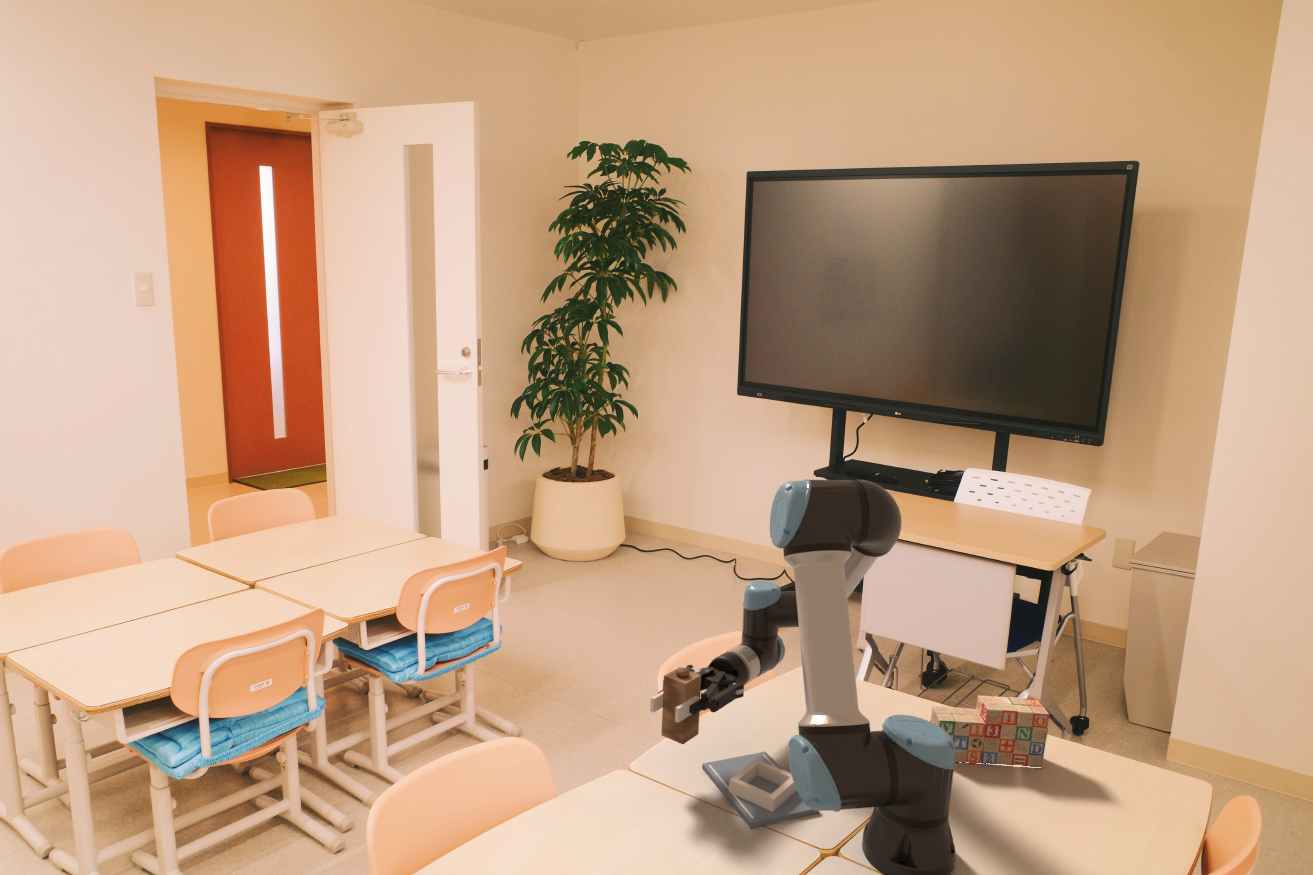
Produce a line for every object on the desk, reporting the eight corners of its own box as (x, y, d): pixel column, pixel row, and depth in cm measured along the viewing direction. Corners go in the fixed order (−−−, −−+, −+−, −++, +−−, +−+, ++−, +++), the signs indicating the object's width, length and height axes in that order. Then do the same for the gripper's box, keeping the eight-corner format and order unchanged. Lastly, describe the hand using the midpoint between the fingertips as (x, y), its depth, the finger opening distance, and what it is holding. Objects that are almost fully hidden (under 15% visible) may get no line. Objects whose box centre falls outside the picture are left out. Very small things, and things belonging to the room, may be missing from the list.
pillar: (698, 734, 168) (701, 669, 166) (682, 744, 164) (685, 678, 162) (677, 725, 171) (680, 662, 169) (661, 735, 167) (664, 670, 165)
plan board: (818, 812, 160) (819, 806, 160) (750, 827, 155) (750, 822, 155) (765, 755, 178) (765, 750, 178) (702, 768, 173) (702, 762, 173)
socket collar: (798, 789, 165) (799, 776, 165) (772, 811, 158) (773, 799, 158) (755, 770, 171) (756, 758, 171) (728, 791, 164) (729, 779, 163)
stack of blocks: (934, 762, 179) (940, 706, 176) (927, 746, 185) (932, 691, 182) (1042, 769, 177) (1050, 713, 175) (1031, 753, 184) (1038, 698, 181)
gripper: (770, 700, 176) (703, 745, 157) (696, 673, 186) (625, 713, 168) (773, 664, 174) (705, 706, 156) (698, 640, 185) (627, 676, 167)
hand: (664, 709), depth 162 cm, fingers closed on pillar, 5 cm apart
